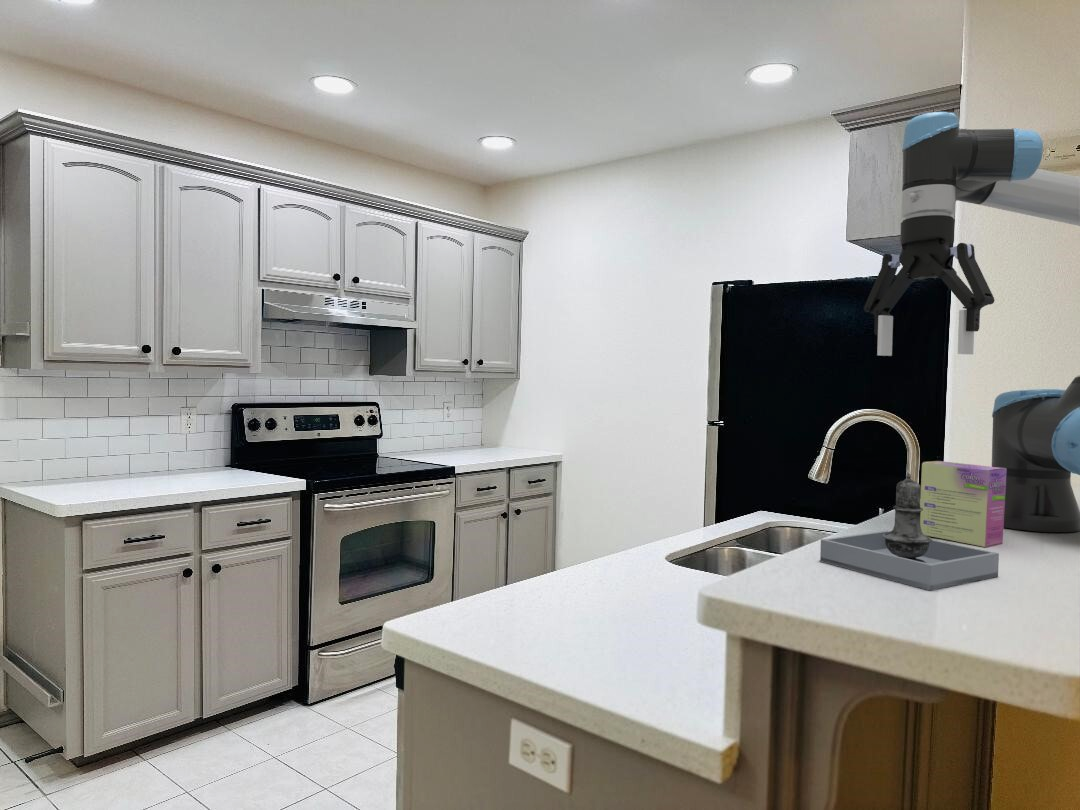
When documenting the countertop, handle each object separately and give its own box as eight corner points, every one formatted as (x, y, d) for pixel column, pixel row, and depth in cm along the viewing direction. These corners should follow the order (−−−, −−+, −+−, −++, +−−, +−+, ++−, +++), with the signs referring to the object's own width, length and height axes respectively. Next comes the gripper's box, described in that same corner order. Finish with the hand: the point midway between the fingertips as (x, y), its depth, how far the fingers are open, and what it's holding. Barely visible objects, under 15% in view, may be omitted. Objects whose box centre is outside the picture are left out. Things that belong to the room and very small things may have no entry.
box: (1004, 543, 119) (1007, 467, 118) (985, 548, 115) (988, 469, 115) (937, 531, 127) (939, 460, 127) (918, 535, 124) (920, 462, 123)
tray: (886, 550, 112) (887, 530, 112) (998, 576, 98) (998, 553, 98) (820, 561, 105) (820, 539, 105) (930, 590, 91) (931, 565, 91)
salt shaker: (937, 570, 98) (940, 476, 98) (888, 568, 99) (891, 475, 99) (923, 559, 104) (925, 471, 104) (876, 557, 105) (879, 469, 105)
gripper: (843, 228, 129) (840, 355, 130) (994, 199, 108) (989, 352, 108) (873, 232, 133) (869, 356, 134) (1024, 206, 111) (1018, 354, 112)
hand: (923, 355), depth 121 cm, fingers open, 13 cm apart
